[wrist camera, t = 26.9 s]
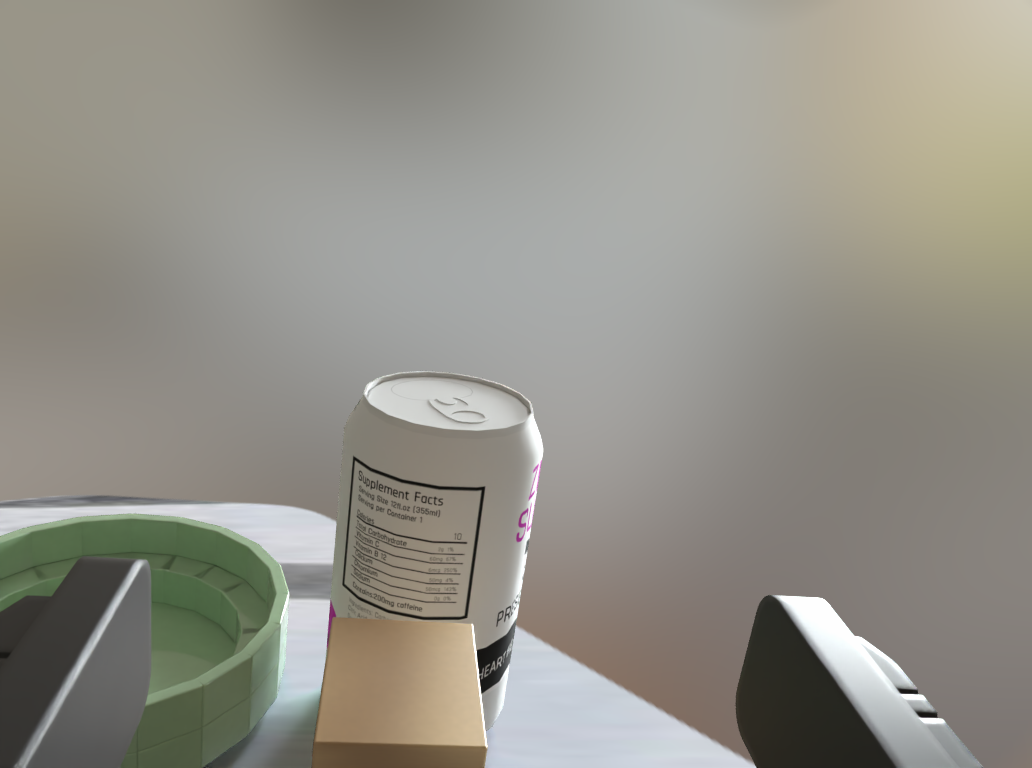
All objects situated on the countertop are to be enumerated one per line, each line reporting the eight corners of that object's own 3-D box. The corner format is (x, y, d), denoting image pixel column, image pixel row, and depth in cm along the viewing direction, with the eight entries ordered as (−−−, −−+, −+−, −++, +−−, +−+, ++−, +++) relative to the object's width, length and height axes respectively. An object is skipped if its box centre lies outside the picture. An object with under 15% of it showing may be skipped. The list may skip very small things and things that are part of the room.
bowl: (258, 577, 48) (262, 504, 46) (310, 774, 35) (317, 681, 33) (-67, 608, 41) (-74, 525, 40) (-154, 864, 28) (-168, 754, 27)
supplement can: (297, 671, 41) (318, 371, 36) (450, 634, 45) (485, 363, 40) (364, 792, 34) (399, 445, 30) (534, 734, 39) (588, 426, 34)
